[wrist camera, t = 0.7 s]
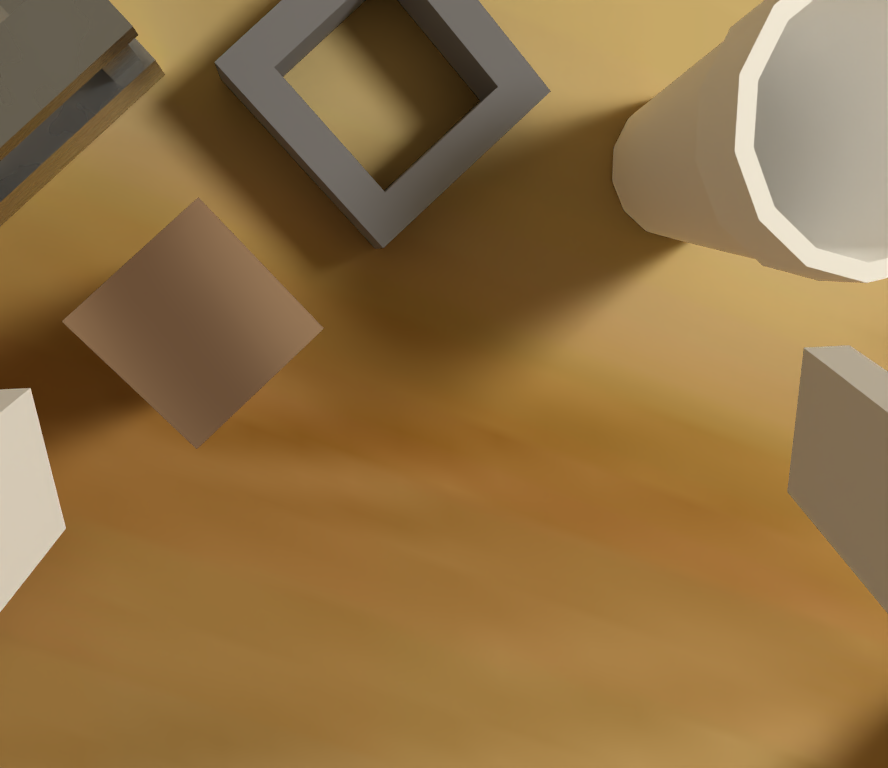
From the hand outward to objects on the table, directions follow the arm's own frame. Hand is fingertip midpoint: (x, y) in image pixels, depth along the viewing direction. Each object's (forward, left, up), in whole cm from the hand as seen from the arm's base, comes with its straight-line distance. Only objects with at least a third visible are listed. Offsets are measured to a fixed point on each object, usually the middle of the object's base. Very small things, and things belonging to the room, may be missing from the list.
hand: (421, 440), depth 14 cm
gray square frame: (+8, +6, -22) cm, 24 cm away
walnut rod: (-3, +4, -22) cm, 22 cm away
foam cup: (+16, -5, -22) cm, 27 cm away
